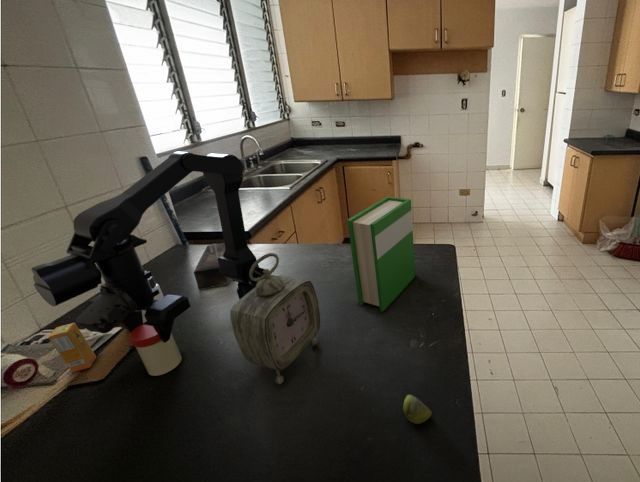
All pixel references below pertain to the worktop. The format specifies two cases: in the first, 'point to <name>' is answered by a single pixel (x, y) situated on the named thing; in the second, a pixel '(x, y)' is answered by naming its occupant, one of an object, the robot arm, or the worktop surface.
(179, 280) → the worktop surface
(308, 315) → the tabletop clock
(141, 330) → the jam lid
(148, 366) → the jam jar
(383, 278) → the hardback book
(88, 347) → the supplement box
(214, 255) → the beverage carton
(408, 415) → the lime
